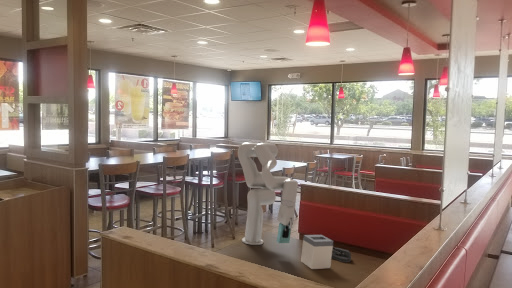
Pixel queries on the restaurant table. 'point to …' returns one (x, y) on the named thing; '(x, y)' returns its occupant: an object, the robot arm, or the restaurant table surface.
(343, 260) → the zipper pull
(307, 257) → the white slotted box
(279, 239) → the teal block
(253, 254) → the restaurant table surface
